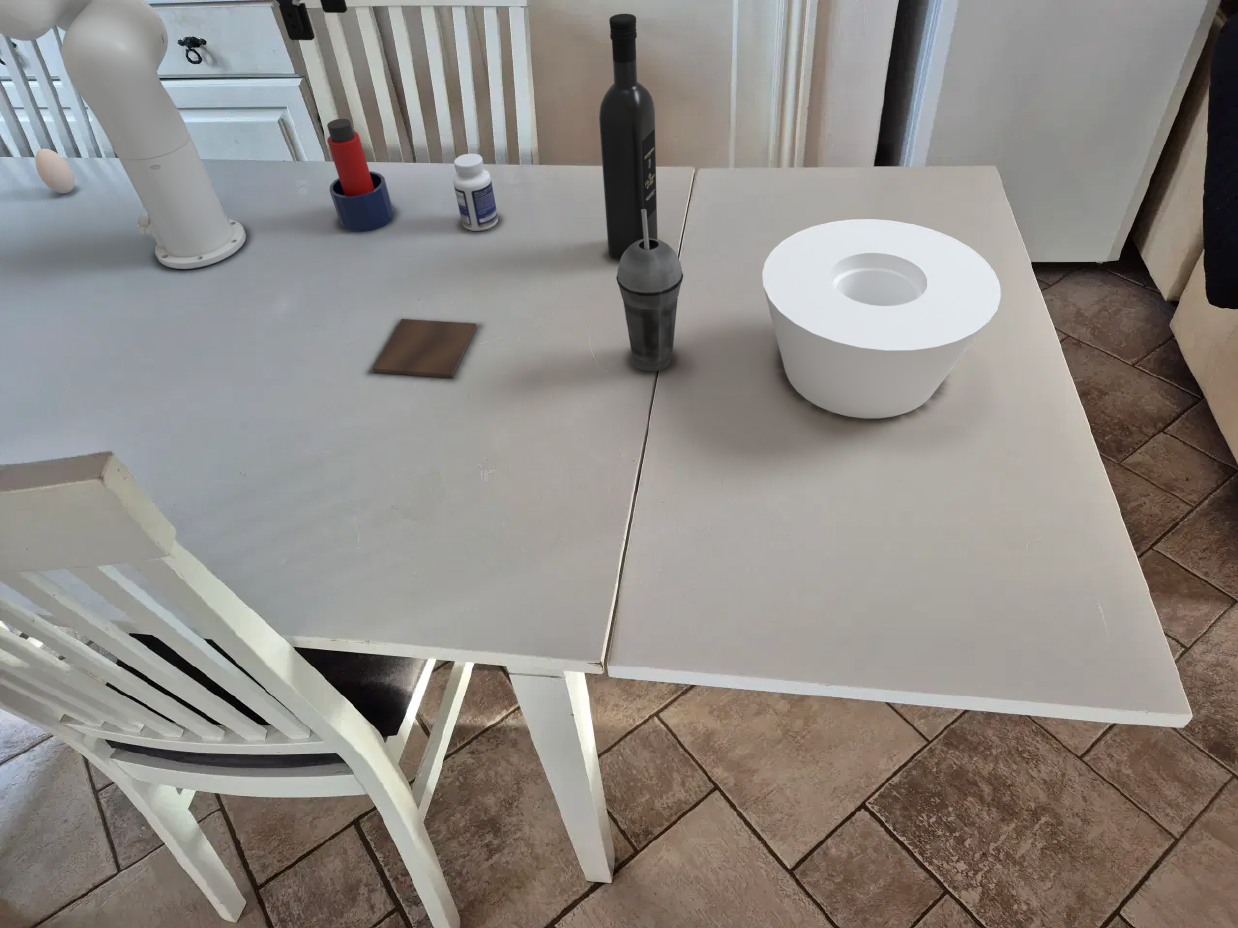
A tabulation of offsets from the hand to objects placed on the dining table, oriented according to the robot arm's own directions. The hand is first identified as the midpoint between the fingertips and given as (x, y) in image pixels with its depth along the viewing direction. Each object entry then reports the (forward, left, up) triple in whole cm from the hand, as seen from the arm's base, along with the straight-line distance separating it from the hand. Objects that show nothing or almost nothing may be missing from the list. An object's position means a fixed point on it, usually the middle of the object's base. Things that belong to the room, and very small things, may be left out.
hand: (319, 25), depth 103 cm
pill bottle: (+16, +1, -28) cm, 32 cm away
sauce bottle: (-2, +1, -27) cm, 27 cm away
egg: (-57, +5, -28) cm, 64 cm away
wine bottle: (+40, -5, -28) cm, 49 cm away
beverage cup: (+46, -28, -28) cm, 61 cm away
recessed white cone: (+70, -27, -28) cm, 80 cm away
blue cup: (-2, +1, -27) cm, 28 cm away
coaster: (+18, -29, -28) cm, 44 cm away
